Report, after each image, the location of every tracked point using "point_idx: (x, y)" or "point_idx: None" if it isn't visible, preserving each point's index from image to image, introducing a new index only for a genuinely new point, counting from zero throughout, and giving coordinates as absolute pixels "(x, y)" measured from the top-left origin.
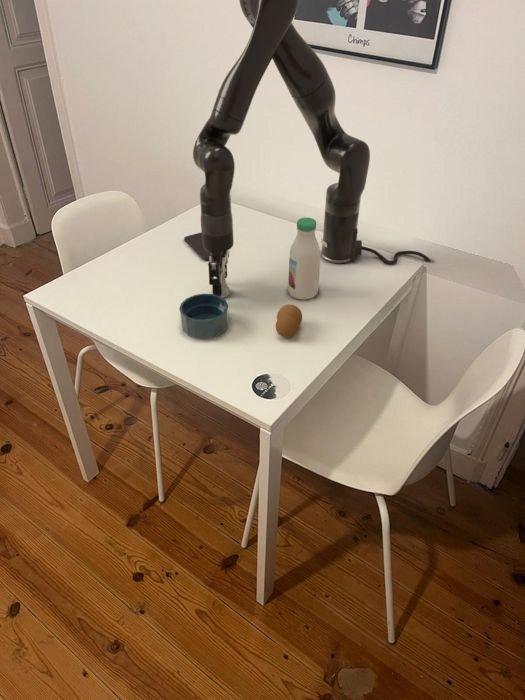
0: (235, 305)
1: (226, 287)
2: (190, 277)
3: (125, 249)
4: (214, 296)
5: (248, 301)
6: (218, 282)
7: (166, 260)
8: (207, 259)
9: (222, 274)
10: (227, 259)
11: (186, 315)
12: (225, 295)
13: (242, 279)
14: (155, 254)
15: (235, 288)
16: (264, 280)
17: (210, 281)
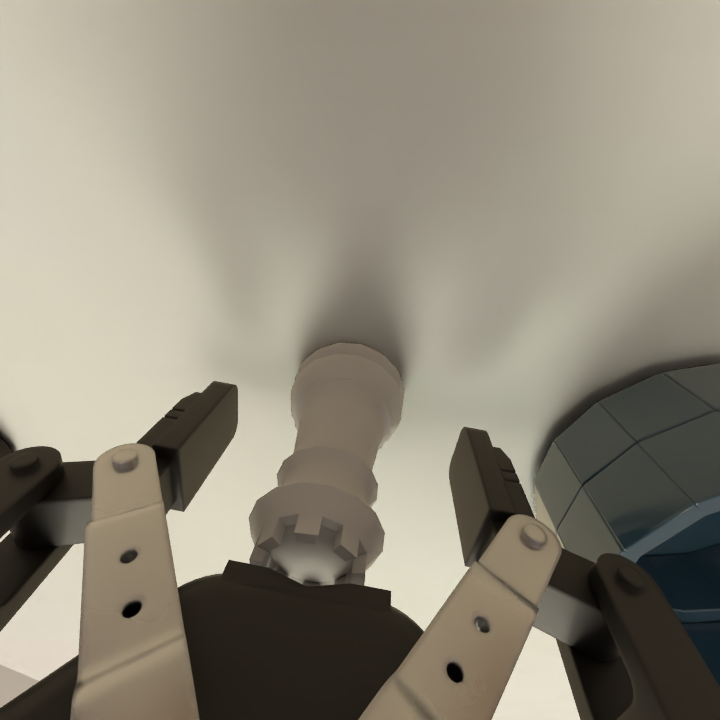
0: (497, 305)
1: (367, 388)
2: (194, 517)
3: None
4: (659, 538)
5: (462, 205)
6: (666, 613)
7: (76, 587)
8: (3, 449)
9: (365, 502)
10: (166, 538)
11: (673, 608)
12: (393, 372)
13: (161, 245)
14: (45, 613)
15: (283, 299)
16: (138, 35)
17: (622, 670)
